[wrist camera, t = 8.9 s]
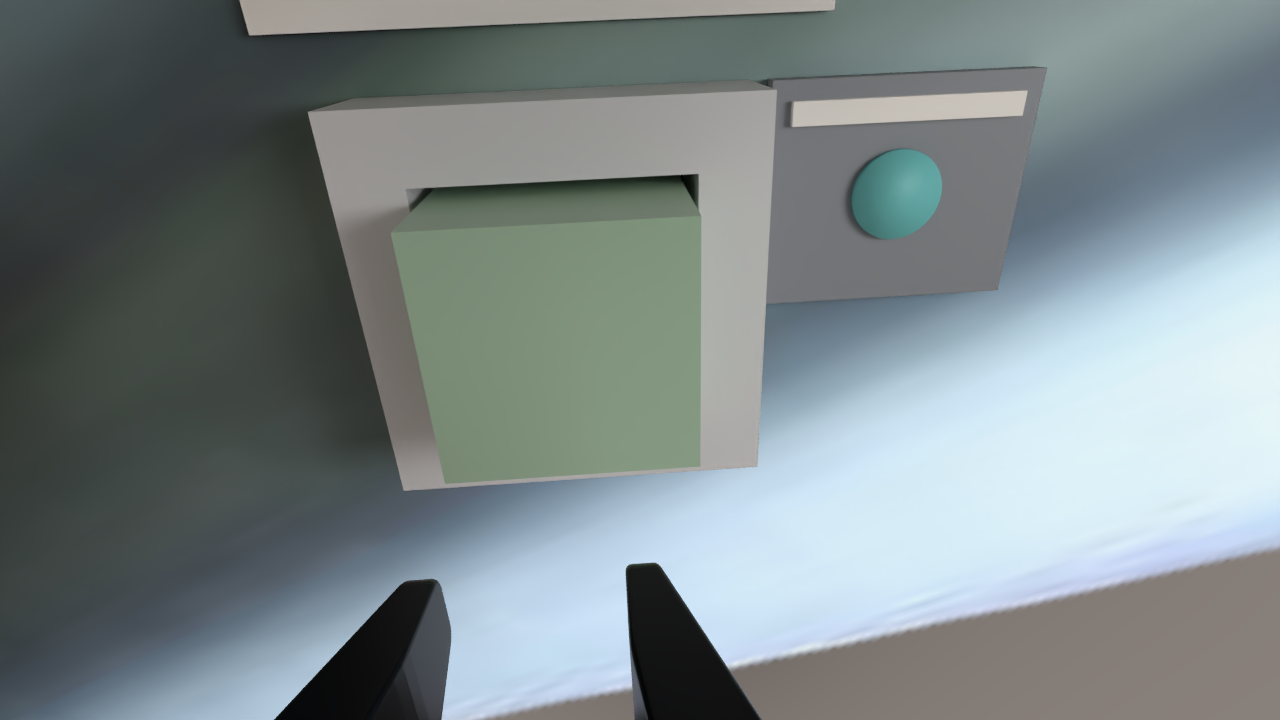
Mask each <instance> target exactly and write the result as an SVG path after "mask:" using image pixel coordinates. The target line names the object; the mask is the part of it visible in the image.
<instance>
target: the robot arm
mask: <svg viewBox="0 0 1280 720" xmlns="http://www.w3.org/2000/svg"><path fill="white" fill-rule="evenodd" d="M626 587H627V606H628V625H629V642H630V657H631V672H632V687H633V701H634V716H635V720H762V719H761V717H760V716H759V714H758V713H757V711H756V710H755V709H754V707H753V705H752V704H751V702H750V701H749V699H748V698H747V696H746V695H745V693H744V692H743V690H742V689H741V687H740V686H739V684H738V683H737V681H736V680H735V678H734V677H733V675H732V674H731V672H730V671H729V669H728V667H727V666H726V664H725V663H724V661H723V660H722V658H721V657H720V655H719V654H718V652H717V651H716V649H715V648H714V646H713V645H712V643H711V642H710V640H709V639H708V637H707V636H706V634H705V633H704V631H703V630H702V628H701V627H700V625H699V624H698V622H697V621H696V619H695V618H694V616H693V615H692V613H691V612H690V610H689V609H688V607H687V606H686V604H685V602H684V601H683V599H682V598H681V596H680V595H679V593H678V592H677V590H676V589H675V587H674V586H673V584H672V583H671V581H670V580H669V578H668V577H667V575H666V574H665V572H664V571H663V569H662V568H661V567H660V566H659V565H658V564H657V563H642V564H631V565H628V566H627V568H626ZM450 647H451V626H450V621H449V617H448V613H447V609H446V605H445V601H444V597H443V592H442V588H441V586H440V584H439V582H438V581H437V580H434V579H425V580H412V581H406V582H404V583H403V584H401V585H400V586H399V587H398V588H397V589H396V590H395V591H394V592H393V593H392V594H391V595H390V596H389V598H388V599H387V600H386V601H385V602H384V603H383V604H382V605H381V606H380V607H379V608H378V609H377V610H376V611H375V612H374V614H373V615H372V616H371V617H370V618H369V619H368V620H367V621H366V622H365V623H364V624H363V625H362V626H361V627H360V629H359V630H358V631H357V632H356V633H355V634H354V635H353V636H352V637H351V638H350V639H349V640H348V641H347V642H346V643H345V645H344V646H343V647H342V648H341V649H340V650H339V651H338V652H337V653H336V654H335V655H334V656H333V657H332V658H331V659H330V661H329V662H328V663H327V664H326V665H325V666H324V667H323V668H322V669H321V670H320V671H319V672H318V673H317V674H316V676H315V677H314V678H313V679H312V680H311V681H310V682H309V683H308V684H307V685H306V686H305V687H304V688H303V689H302V690H301V692H300V693H299V694H298V695H297V696H296V697H295V698H294V699H293V700H292V701H291V702H290V703H289V704H288V705H287V707H286V708H285V709H284V710H283V711H282V712H281V713H280V714H279V715H278V716H277V717H276V718H275V719H274V720H441V718H442V710H443V702H444V695H445V687H446V679H447V671H448V663H449V655H450Z"/></svg>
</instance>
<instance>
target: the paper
mask: <svg viewBox="0 0 1280 720" xmlns="http://www.w3.org/2000/svg"><path fill="white" fill-rule="evenodd" d="M240 4H241V8H242V11H243V15H244V18H245V22H246V26H247V29H248V33H249V35H271V34H295V33H318V32H341V31H364V30H387V29H411V28H434V27H457V26H480V25H503V24H527V23H550V22H573V21H596V20H619V19H642V18H666V17H689V16H712V15H735V14H758V13H782V12H805V11H828V10H835V0H240Z"/></svg>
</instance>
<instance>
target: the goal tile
mask: <svg viewBox="0 0 1280 720" xmlns="http://www.w3.org/2000/svg"><path fill="white" fill-rule="evenodd" d="M1046 70H1047V68H1045V67H1033V66H1032V67H1011V68H989V69H968V70H947V71H925V72H904V73H882V74H861V75H840V76H818V77H797V78H776V79H768V81H767V86H768V87H771V88H774V89H777V101H776V120H775V139H774V158H773V177H772V196H771V215H770V234H769V253H768V272H767V291H766V304H772V303H789V302H806V301H823V300H840V299H857V298H873V297H890V296H907V295H924V294H941V293H958V292H975V291H992V290H998V285H999V281H1000V276H1001V272H1002V267H1003V263H1004V258H1005V254H1006V249H1007V245H1008V240H1009V236H1010V231H1011V227H1012V222H1013V218H1014V214H1015V209H1016V205H1017V200H1018V196H1019V191H1020V187H1021V182H1022V178H1023V173H1024V169H1025V164H1026V160H1027V155H1028V151H1029V146H1030V142H1031V137H1032V133H1033V129H1034V124H1035V120H1036V115H1037V111H1038V106H1039V102H1040V97H1041V93H1042V88H1043V84H1044V79H1045V75H1046Z"/></svg>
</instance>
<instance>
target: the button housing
mask: <svg viewBox="0 0 1280 720" xmlns="http://www.w3.org/2000/svg"><path fill="white" fill-rule="evenodd" d="M776 101H777V89H774V88H771V87H768V86H765V85H762V84H759V83H756V82H753V81H750V80H733V81H711V82H690V83H669V84H647V85H626V86H605V87H583V88H562V89H540V90H519V91H498V92H476V93H455V94H433V95H412V96H391V97H369V98H353V99H350V100H346V101H343V102H340V103H336V104H333V105H330V106H326V107H323V108H319V109H316V110H313V111H309V112H308V116H309V119H310V123H311V127H312V131H313V135H314V139H315V143H316V147H317V151H318V155H319V159H320V163H321V167H322V171H323V175H324V179H325V182H326V186H327V190H328V194H329V198H330V202H331V206H332V210H333V214H334V218H335V222H336V226H337V230H338V234H339V238H340V242H341V245H342V249H343V253H344V257H345V261H346V265H347V269H348V273H349V277H350V281H351V285H352V289H353V293H354V297H355V301H356V305H357V308H358V312H359V316H360V320H361V324H362V328H363V332H364V336H365V340H366V344H367V348H368V352H369V356H370V360H371V364H372V368H373V371H374V375H375V379H376V383H377V387H378V391H379V395H380V399H381V403H382V407H383V411H384V415H385V419H386V423H387V427H388V431H389V434H390V438H391V442H392V446H393V450H394V454H395V458H396V462H397V466H398V470H399V474H400V478H401V482H402V486H403V490H404V491H408V490H423V489H437V488H452V487H467V486H481V485H496V484H510V483H525V482H540V481H554V480H569V479H584V478H598V477H613V476H628V475H642V474H657V473H672V472H686V471H701V470H716V469H730V468H745V467H757V463H758V444H759V424H760V405H761V386H762V367H763V348H764V329H765V310H766V291H767V272H768V253H769V234H770V215H771V196H772V177H773V158H774V139H775V120H776ZM666 175H683V184H684V186H685V187H686V189H687V191H688V193H689V195H690V196H691V198H692V200H693V202H694V204H695V205H696V207H697V209H698V211H699V212H700V214H701V437H700V467H687V468H672V469H657V470H642V471H628V472H613V473H598V474H584V475H569V476H554V477H539V478H525V479H510V480H495V481H481V482H466V483H451V484H445V482H444V477H443V472H442V468H441V463H440V459H439V454H438V449H437V445H436V440H435V435H434V431H433V426H432V422H431V417H430V412H429V408H428V403H427V399H426V394H425V389H424V385H423V380H422V375H421V371H420V366H419V362H418V357H417V352H416V348H415V343H414V339H413V334H412V329H411V325H410V320H409V316H408V311H407V306H406V302H405V297H404V292H403V288H402V283H401V279H400V274H399V269H398V265H397V260H396V256H395V251H394V246H393V242H392V237H391V232H392V231H393V230H394V229H395V228H396V227H397V226H398V225H399V224H400V223H401V222H402V221H403V220H404V219H405V218H406V217H407V216H408V215H409V214H410V213H411V212H412V211H413V210H414V209H415V208H416V207H417V206H418V205H419V204H420V203H421V202H422V201H423V200H424V199H425V198H426V197H427V196H428V195H429V194H430V193H431V192H432V191H433V190H434V189H435V188H436V187H454V186H473V185H493V184H512V183H531V182H551V181H570V180H589V179H609V178H628V177H647V176H666Z"/></svg>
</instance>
